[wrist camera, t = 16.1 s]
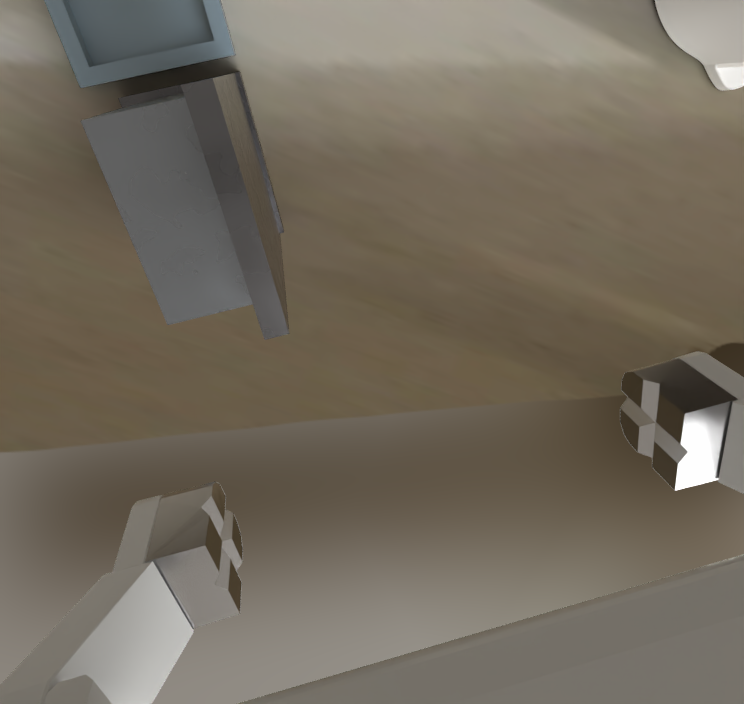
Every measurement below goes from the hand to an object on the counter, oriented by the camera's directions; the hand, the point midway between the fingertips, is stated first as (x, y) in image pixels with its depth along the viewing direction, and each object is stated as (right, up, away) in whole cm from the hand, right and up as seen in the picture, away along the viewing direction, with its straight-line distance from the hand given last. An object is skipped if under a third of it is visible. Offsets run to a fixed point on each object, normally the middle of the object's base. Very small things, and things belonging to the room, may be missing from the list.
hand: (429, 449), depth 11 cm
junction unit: (-13, +15, +28) cm, 35 cm away
